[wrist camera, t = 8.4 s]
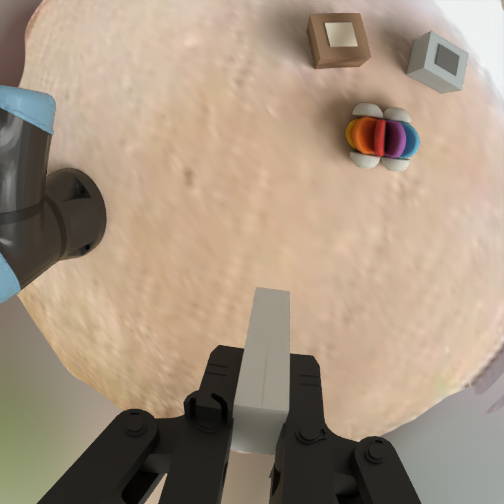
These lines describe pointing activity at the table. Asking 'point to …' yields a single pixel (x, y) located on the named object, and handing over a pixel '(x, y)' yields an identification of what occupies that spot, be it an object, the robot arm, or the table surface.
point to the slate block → (437, 63)
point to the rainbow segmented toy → (381, 137)
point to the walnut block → (337, 40)
